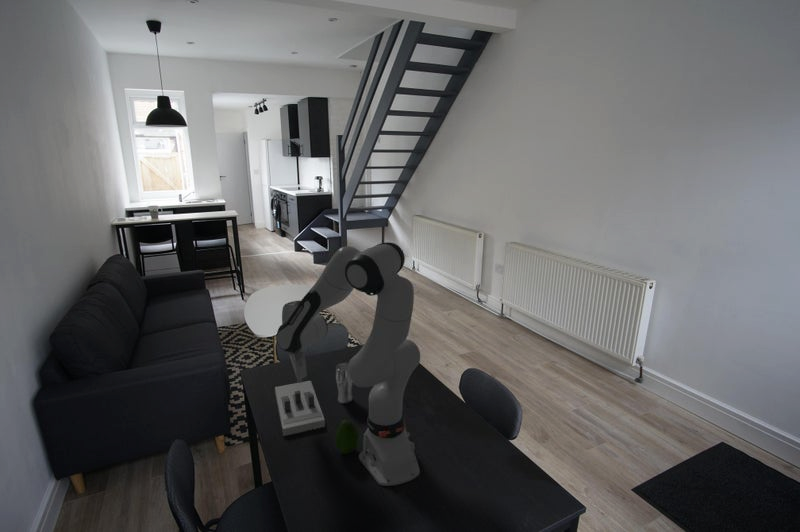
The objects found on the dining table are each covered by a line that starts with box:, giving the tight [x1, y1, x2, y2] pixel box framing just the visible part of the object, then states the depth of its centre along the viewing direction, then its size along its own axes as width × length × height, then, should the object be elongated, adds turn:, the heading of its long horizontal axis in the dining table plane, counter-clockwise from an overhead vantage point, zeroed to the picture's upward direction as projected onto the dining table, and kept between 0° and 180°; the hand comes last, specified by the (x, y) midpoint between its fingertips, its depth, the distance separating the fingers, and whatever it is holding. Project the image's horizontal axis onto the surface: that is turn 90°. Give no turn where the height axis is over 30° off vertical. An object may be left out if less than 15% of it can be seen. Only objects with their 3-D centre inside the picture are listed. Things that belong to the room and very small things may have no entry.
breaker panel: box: [274, 380, 326, 437], centre depth 166 cm, size 30×15×8 cm, turn 21°
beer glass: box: [335, 362, 354, 404], centre depth 172 cm, size 7×7×15 cm
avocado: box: [335, 419, 360, 455], centre depth 142 cm, size 8×8×12 cm
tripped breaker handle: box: [295, 390, 301, 403], centre depth 166 cm, size 2×2×4 cm
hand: (298, 377), depth 157 cm, fingers open, 5 cm apart
